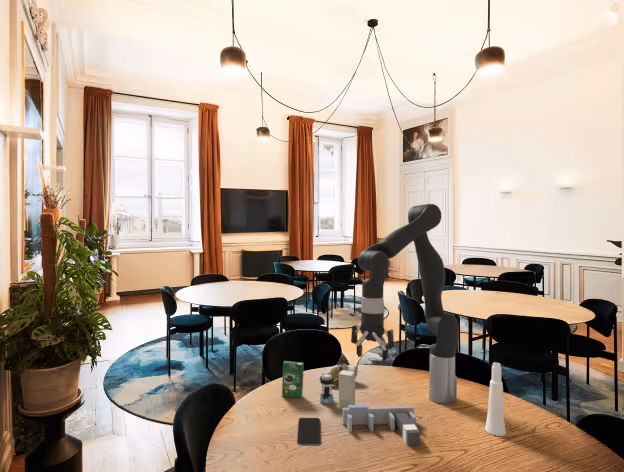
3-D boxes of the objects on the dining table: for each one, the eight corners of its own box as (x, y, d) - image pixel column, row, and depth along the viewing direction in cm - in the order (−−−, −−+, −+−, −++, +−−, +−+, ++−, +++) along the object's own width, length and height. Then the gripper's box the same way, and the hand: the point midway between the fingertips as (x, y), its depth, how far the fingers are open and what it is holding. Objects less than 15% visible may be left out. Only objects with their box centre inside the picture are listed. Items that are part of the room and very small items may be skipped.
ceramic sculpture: (360, 365, 153) (324, 368, 152) (361, 386, 153) (325, 390, 152) (354, 357, 164) (321, 360, 162) (355, 376, 164) (321, 380, 162)
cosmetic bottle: (507, 438, 116) (508, 367, 116) (485, 434, 118) (487, 365, 118) (504, 428, 122) (505, 361, 122) (484, 425, 124) (485, 359, 124)
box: (355, 407, 136) (356, 371, 135) (351, 412, 132) (352, 375, 131) (341, 404, 138) (342, 369, 138) (337, 409, 134) (338, 373, 134)
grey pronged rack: (411, 420, 127) (412, 403, 127) (418, 429, 121) (419, 411, 120) (342, 422, 124) (342, 405, 124) (345, 432, 118) (345, 414, 118)
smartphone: (296, 444, 111) (298, 417, 126) (296, 447, 111) (298, 420, 126) (321, 444, 111) (320, 417, 126) (321, 448, 111) (320, 421, 126)
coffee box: (303, 395, 144) (304, 361, 144) (302, 398, 142) (302, 364, 141) (283, 393, 146) (284, 360, 146) (281, 396, 143) (282, 362, 143)
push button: (337, 399, 142) (337, 373, 141) (337, 405, 136) (337, 378, 136) (319, 398, 142) (319, 372, 142) (319, 405, 137) (319, 378, 136)
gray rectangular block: (394, 425, 123) (395, 413, 123) (405, 424, 123) (405, 412, 123) (407, 446, 111) (407, 432, 111) (419, 445, 112) (419, 432, 111)
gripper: (396, 310, 124) (396, 359, 125) (357, 306, 131) (356, 351, 132) (389, 314, 118) (389, 366, 118) (348, 309, 125) (347, 358, 125)
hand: (371, 358), depth 125 cm, fingers open, 8 cm apart
